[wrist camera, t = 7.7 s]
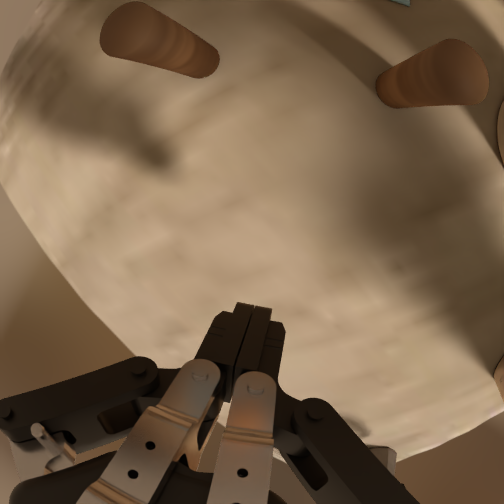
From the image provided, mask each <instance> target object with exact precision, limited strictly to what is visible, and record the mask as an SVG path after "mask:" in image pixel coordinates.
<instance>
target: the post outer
mask: <svg viewBox="0 0 504 504" xmlns="http://www.w3.org/2000/svg"><path fill="white" fill-rule="evenodd" d="M100 45H101V48H102V50H103V51H104V52H105V53H106V54H107V55H109V56H111V57H116V58H121V59H126V60H130V61H135V62H139V63H143V64H147V65H151V66H155V67H159V68H163V69H166V70H170V71H173V72H177V73H180V74H183V75H187V76H190V77H193V78H205V77H207V76H209V75H211V74H212V73H213V72H214V71H215V70H216V69H217V67H218V65H219V60H220V58H219V53H218V51H217V50H216V49H215V48H214V47H213V46H211V45H210V44H209V43H207V42H206V41H204V40H203V39H201V38H200V37H198V36H197V35H196V34H194V33H193V32H191V31H190V30H188V29H186V28H185V27H183V26H182V25H180V24H179V23H177V22H176V21H174V20H172V19H171V18H169V17H167V16H166V15H164V14H162V13H161V12H159V11H157V10H155V9H154V8H152V7H150V6H148V5H147V4H145V3H142V2H129V3H126V4H124V5H122V6H120V7H119V8H117V9H116V10H115V11H113V12H112V13H111V14H110V16H109V17H108V18H107V20H106V21H105V23H104V25H103V27H102V29H101V33H100Z"/></svg>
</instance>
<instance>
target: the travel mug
mask: <svg viewBox="0 0 504 504" xmlns="http://www.w3.org/2000/svg"><path fill="white" fill-rule="evenodd" d="M497 135H498V144H499V150H500V154H501V157H502V160H503V163H504V101H503V103H502V105H501V108H500V111H499V116H498V124H497Z"/></svg>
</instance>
